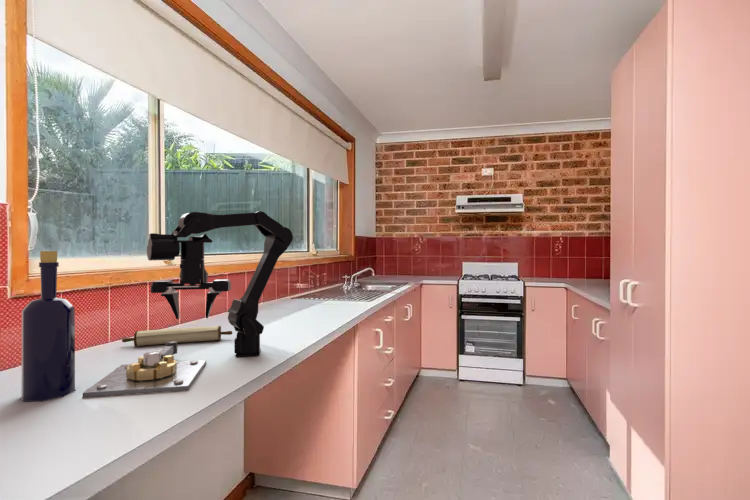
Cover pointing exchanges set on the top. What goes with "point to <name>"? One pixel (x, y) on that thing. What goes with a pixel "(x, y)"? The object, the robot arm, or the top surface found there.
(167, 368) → the lever handle
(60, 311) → the bottle
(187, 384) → the flange plate
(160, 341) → the rolling pin
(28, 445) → the top surface
